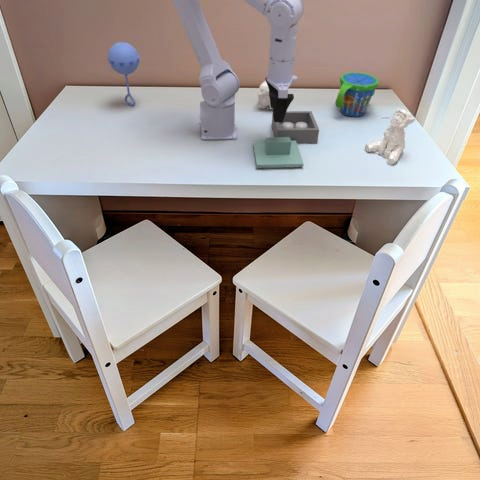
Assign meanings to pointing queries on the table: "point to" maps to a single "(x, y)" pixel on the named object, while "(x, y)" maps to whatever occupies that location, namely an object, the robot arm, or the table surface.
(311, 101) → the table surface
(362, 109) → the snack cup
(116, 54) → the baby rattle
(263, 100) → the white lumpy piece
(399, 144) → the sitting furry creature
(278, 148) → the lid
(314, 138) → the storage box
